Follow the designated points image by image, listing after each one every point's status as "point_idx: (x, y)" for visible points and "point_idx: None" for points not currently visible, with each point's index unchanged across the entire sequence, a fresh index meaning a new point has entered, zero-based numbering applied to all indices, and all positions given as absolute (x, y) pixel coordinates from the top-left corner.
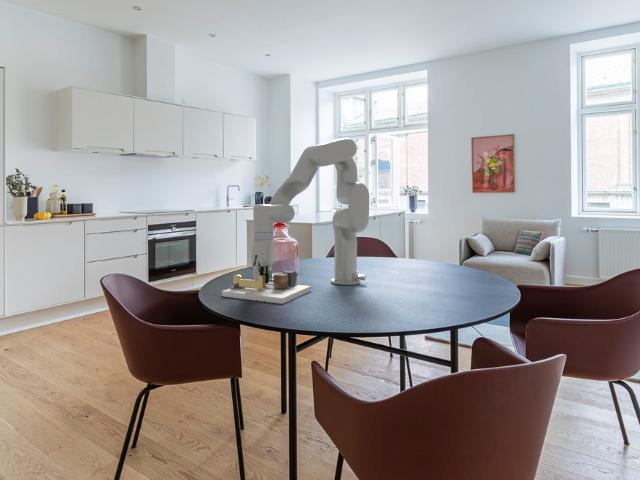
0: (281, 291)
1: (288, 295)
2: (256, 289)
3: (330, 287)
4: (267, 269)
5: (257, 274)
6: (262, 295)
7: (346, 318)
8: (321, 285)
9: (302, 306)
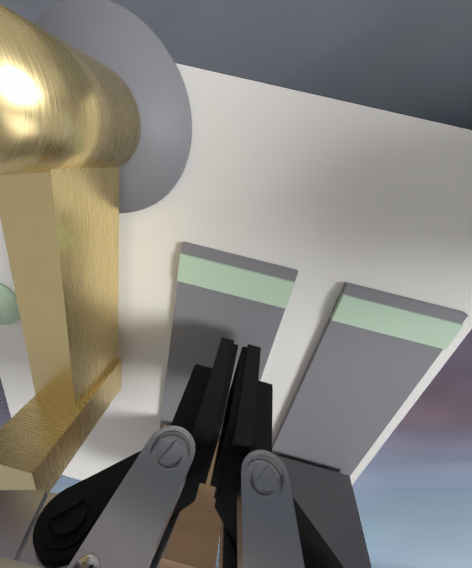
0: (137, 451)
1: (78, 478)
2: (122, 320)
3: (395, 564)
4: (222, 558)
5: None
6: (8, 387)
7: None
8: (449, 546)
9: (54, 487)
